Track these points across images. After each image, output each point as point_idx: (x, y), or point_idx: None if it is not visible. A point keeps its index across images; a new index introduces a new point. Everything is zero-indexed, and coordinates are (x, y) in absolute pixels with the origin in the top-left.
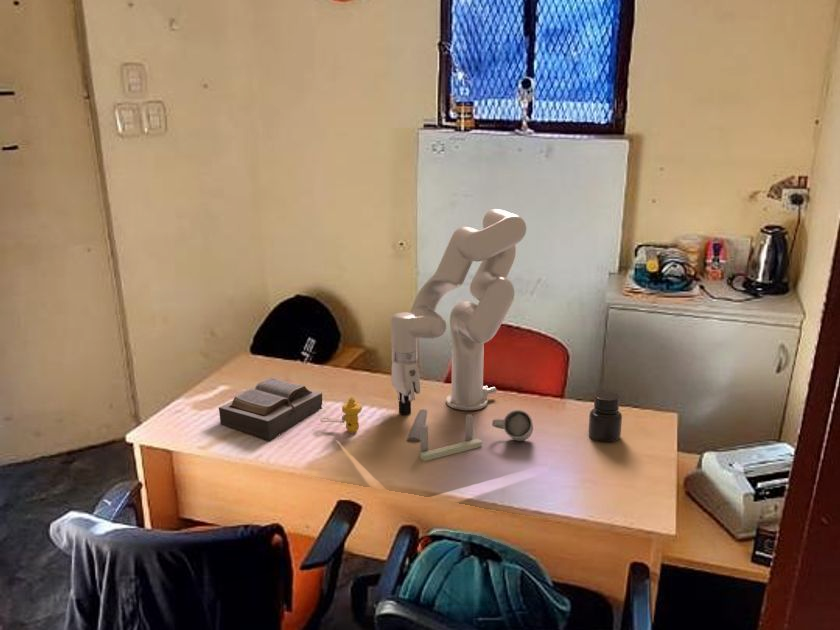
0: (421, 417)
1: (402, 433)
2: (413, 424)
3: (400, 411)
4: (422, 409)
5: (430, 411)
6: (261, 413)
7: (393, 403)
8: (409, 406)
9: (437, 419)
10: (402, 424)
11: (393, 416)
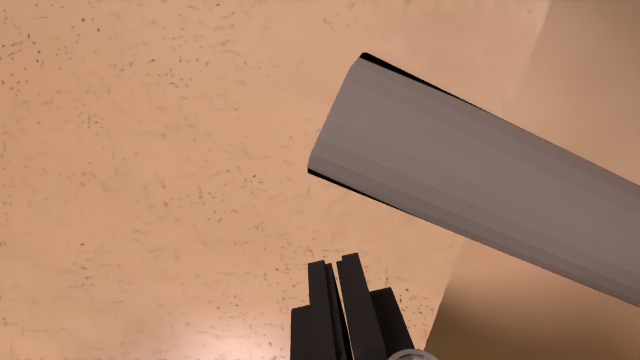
0: (514, 190)
1: (623, 349)
2: (573, 271)
3: (350, 348)
4: (325, 128)
5: (303, 22)
6: None
7: (45, 314)
8: (403, 322)
9: (525, 11)
10: (486, 324)
11: None
